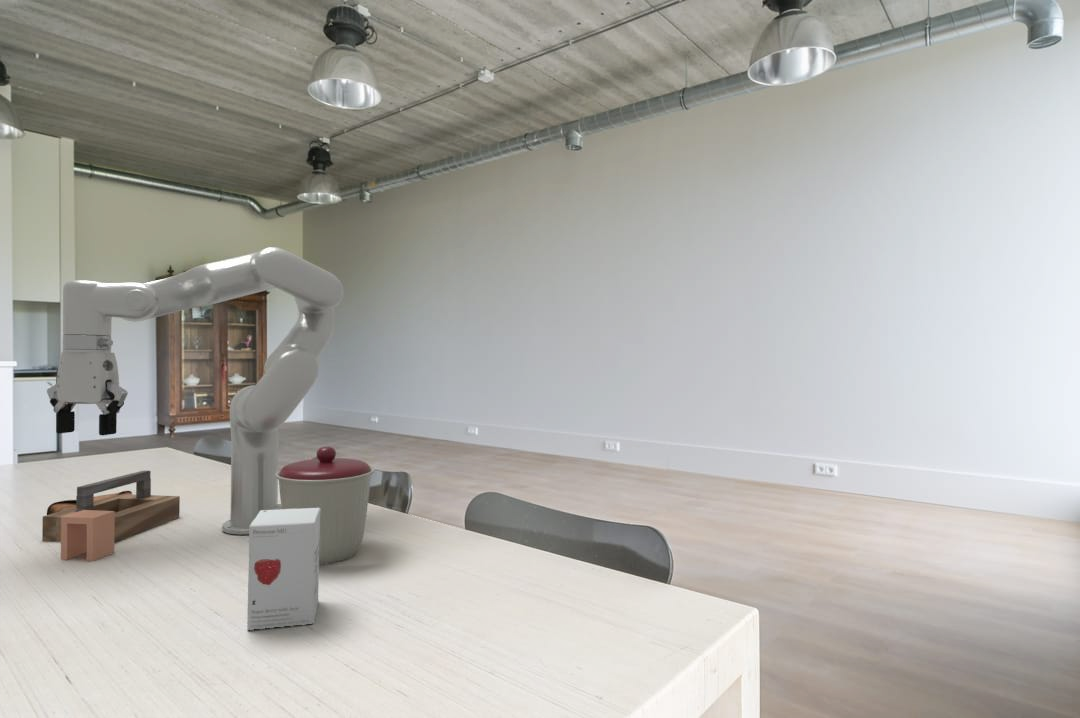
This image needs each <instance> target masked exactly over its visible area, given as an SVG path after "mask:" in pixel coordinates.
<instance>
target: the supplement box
mask: <svg viewBox="0 0 1080 718" xmlns="http://www.w3.org/2000/svg"><path fill="white" fill-rule="evenodd" d="M320 510H321V509H320V508H303V509H279V510H261V511H260V512H259V513H258V515H257V516H256V518H255V519H254V520H253V522H252V523H251V525H250V526H249V534H248V573H247V574H248V583H247V584H248V585H247V623H246V624H247V626H246V627H247V631H248V630H250V631H255V630H254V629H260V630H266V629H265V628H270V629H275V628H274V627H281V628H285V627H284V626H291V627H294V626H293V625H302V626H304V625H303V624H312V623H313V624H314V622H315V619H316V614H317V609H318V606H319V605H318V604H319V584H320V583H319V577H320V575H319V574H320V573H319V572H320V570H319V569H320V566H319V565H320V564H319V540H320ZM313 624H312V625H313Z"/></svg>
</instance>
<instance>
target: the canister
mask: <svg viewBox="0 0 1080 718" xmlns="http://www.w3.org/2000/svg"><path fill="white" fill-rule="evenodd" d="M336 456H337V451H336V449H335V448H334V447H332V446H322V447H320V448H318V449H317V451H316V457H317V458H312V459H303V460H299V461H294V462H292V463H289V464H287V465H285V466H283V467H282V468H281V469H278V471H277V472H276V473H275V477H276V478H277V479H278V488H279V489H278V490H279V498H280V504H281V508H282V509H303V508H320V509H321V510H320V540H319V565H325V564H332V563H337V562H341V561H344V560H347V559H349V558H350V559H351V557H353V556H354V555H356V553H358V551H359V550H360V548H361V547H362V543H363V539H364V536H365V535H364V534H365V527H366V521H367V514H368V513H367V512H368V505H369V497H370V490H371V489H370V488H371V479H372V475H373V474H374V473H375V471H376V469H375V467H373V466H372V465H369V463H367V462H365V461H363V460H360V459H354V458H347V457H346V458H345V457H342V458H341V457H336Z"/></svg>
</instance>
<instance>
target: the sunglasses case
mask: <svg viewBox="0 0 1080 718" xmlns="http://www.w3.org/2000/svg"><path fill="white" fill-rule="evenodd" d="M119 494H133V493H132V490H122V491H120V492H115V493H109V494H108V493H107V494H102V495H96V496H94V501H98V500H101V499H105V498H108V497H112V496H115V495H119ZM74 507H76V499H68V500H61V501H60V500H59V501H55V502H53V503H51V504H49V506H48V507H47V510H46V515H49V514H53V513H56V512H60V511H63V510H67V509H70V508H74Z"/></svg>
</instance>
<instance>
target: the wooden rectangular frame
mask: <svg viewBox="0 0 1080 718" xmlns="http://www.w3.org/2000/svg"><path fill="white" fill-rule="evenodd" d="M151 473H152V472H151V470H141V471H140V470H139V471H136V472H132V473H127V474H124V475H120V476H116V477H112V478H108V479H104V480H100V481H96V482H92V483H88V484H84V485H80V486H76V496H75V497H76V498H75V500H76V507H74V508H70V509H67V510H63V511H60V512H56V513H53V514H49V515H47V514H46V515H43V516H42V535H41V536H42V537H41V539H42V542H56V543H57V542H60V543H61V517H62V516H66V515H69V514H72V513H76V512H79V511H82V510H97V511H115V530H114V544H115V543H117V542H119V541H122V540H126V539H127V538H130V537H132V536H135V535H137V534H139V533H143V532H145V531H148V530H150V529H154V528H156V527H158V526H161V525H163V524H166V523H169V522H171V521H173V520H177V519H180V511H181V510H180V504H181V503H180V501H181V499H180V496H179V495H157V494H156V495H154V494H152V493H151V492H152V490H151V489H152V479H151V475H152V474H151ZM132 484H136V485H135V486H136V487H135V488H136V489H135V490H136V491H135V494H133V493H132V494H119V495H115V496H112V497H108V498H105V499H101V500H98V501H94V497H95V496H94V494H99V493H102V492H105V491H109V490H113V489H117V488H119V487H125V486H127V485H132Z"/></svg>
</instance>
